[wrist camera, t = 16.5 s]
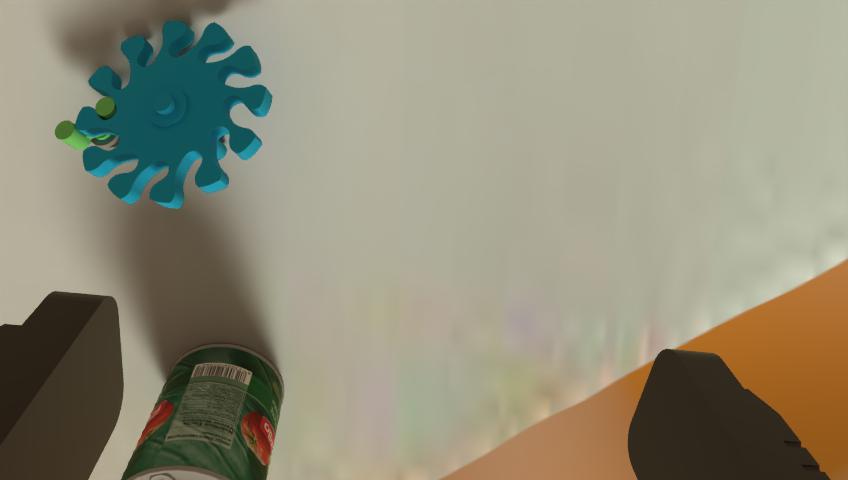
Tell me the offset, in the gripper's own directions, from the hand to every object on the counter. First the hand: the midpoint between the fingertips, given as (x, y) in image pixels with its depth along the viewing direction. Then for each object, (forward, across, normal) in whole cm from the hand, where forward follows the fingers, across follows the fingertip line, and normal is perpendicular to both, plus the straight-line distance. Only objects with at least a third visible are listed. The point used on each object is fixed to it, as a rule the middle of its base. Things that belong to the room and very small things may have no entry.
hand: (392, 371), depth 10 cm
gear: (+28, +11, +5) cm, 31 cm away
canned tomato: (+28, +8, +25) cm, 39 cm away
